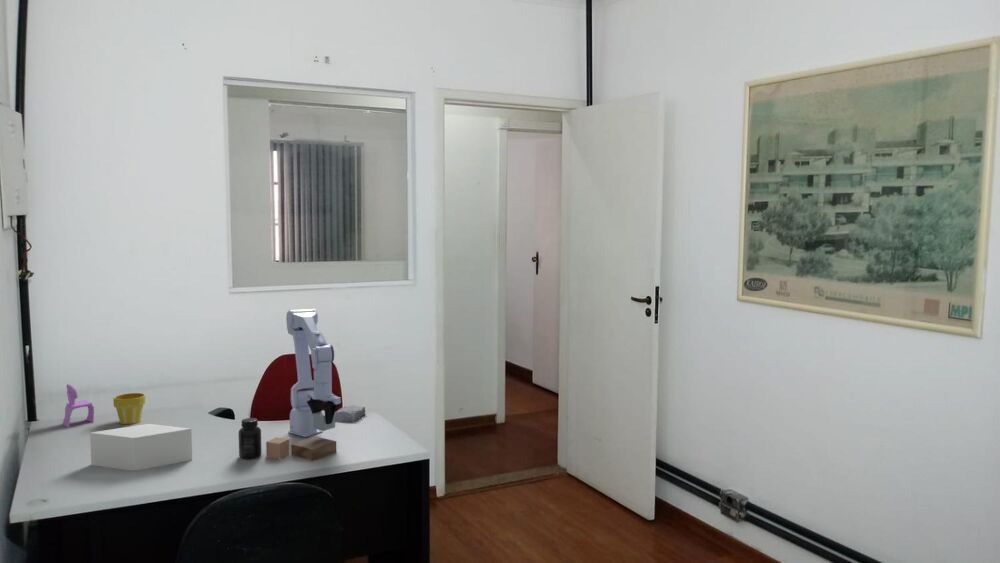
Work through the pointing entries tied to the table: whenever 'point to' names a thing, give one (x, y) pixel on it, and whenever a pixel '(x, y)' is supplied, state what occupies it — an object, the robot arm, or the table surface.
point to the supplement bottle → (249, 439)
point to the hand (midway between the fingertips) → (323, 422)
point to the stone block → (349, 413)
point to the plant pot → (129, 407)
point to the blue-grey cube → (322, 421)
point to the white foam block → (141, 446)
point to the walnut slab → (313, 448)
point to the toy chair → (76, 406)
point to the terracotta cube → (277, 447)
